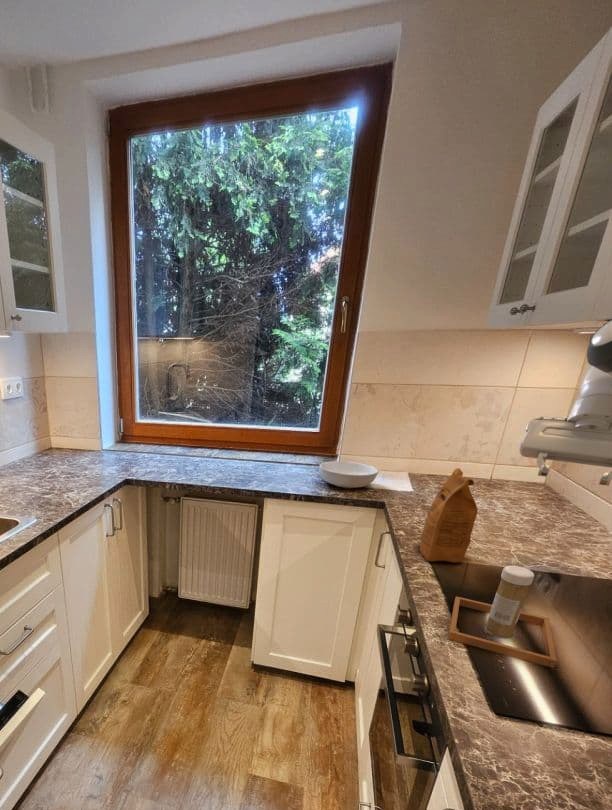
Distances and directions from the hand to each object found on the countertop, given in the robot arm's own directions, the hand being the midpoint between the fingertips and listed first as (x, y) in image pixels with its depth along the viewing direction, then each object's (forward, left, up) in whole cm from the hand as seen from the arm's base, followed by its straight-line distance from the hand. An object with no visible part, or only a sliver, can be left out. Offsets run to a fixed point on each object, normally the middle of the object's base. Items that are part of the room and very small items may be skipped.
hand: (572, 478), depth 91 cm
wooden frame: (+6, +21, -27) cm, 34 cm away
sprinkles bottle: (+6, +21, -26) cm, 34 cm away
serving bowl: (+55, -67, -27) cm, 91 cm away
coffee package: (+18, -14, -27) cm, 36 cm away
